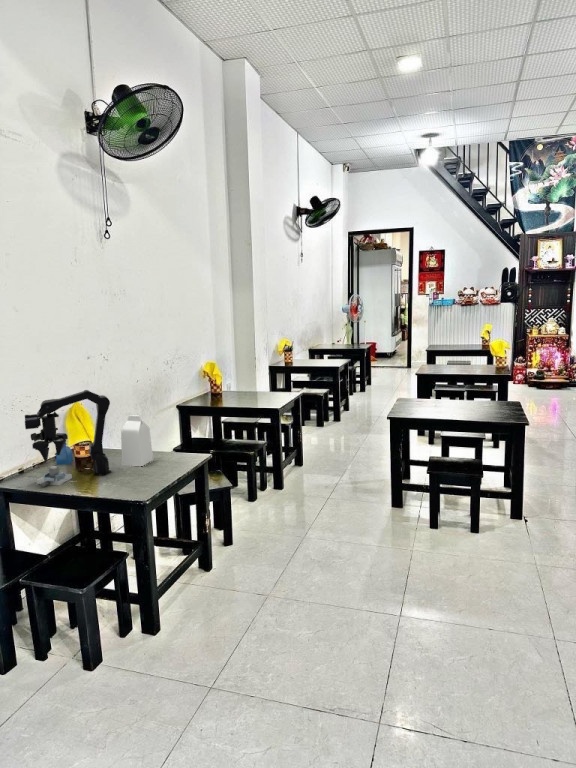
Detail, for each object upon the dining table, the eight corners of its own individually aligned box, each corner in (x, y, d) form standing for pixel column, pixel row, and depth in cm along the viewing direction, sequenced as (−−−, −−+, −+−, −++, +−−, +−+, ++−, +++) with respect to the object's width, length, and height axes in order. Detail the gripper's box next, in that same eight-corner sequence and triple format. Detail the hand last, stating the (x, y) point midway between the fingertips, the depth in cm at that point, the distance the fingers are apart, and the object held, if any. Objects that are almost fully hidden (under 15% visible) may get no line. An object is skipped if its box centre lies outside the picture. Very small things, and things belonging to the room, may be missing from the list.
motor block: (72, 478, 262) (71, 470, 261) (53, 488, 249) (52, 480, 248) (50, 476, 265) (49, 469, 264) (31, 486, 251) (30, 478, 251)
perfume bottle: (56, 464, 283) (54, 443, 281) (61, 461, 289) (59, 439, 287) (68, 464, 284) (66, 442, 281) (72, 460, 290) (70, 439, 288)
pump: (61, 475, 260) (60, 465, 259) (55, 478, 256) (54, 468, 255) (53, 475, 261) (52, 465, 260) (47, 478, 257) (46, 468, 256)
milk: (121, 465, 280) (118, 417, 275) (134, 459, 290) (130, 412, 286) (141, 467, 276) (138, 418, 272) (153, 460, 287) (150, 413, 283)
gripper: (47, 421, 265) (50, 451, 267) (20, 431, 247) (24, 463, 249) (67, 422, 262) (69, 452, 265) (41, 432, 244) (44, 464, 247)
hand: (52, 458), depth 257 cm, fingers open, 9 cm apart
